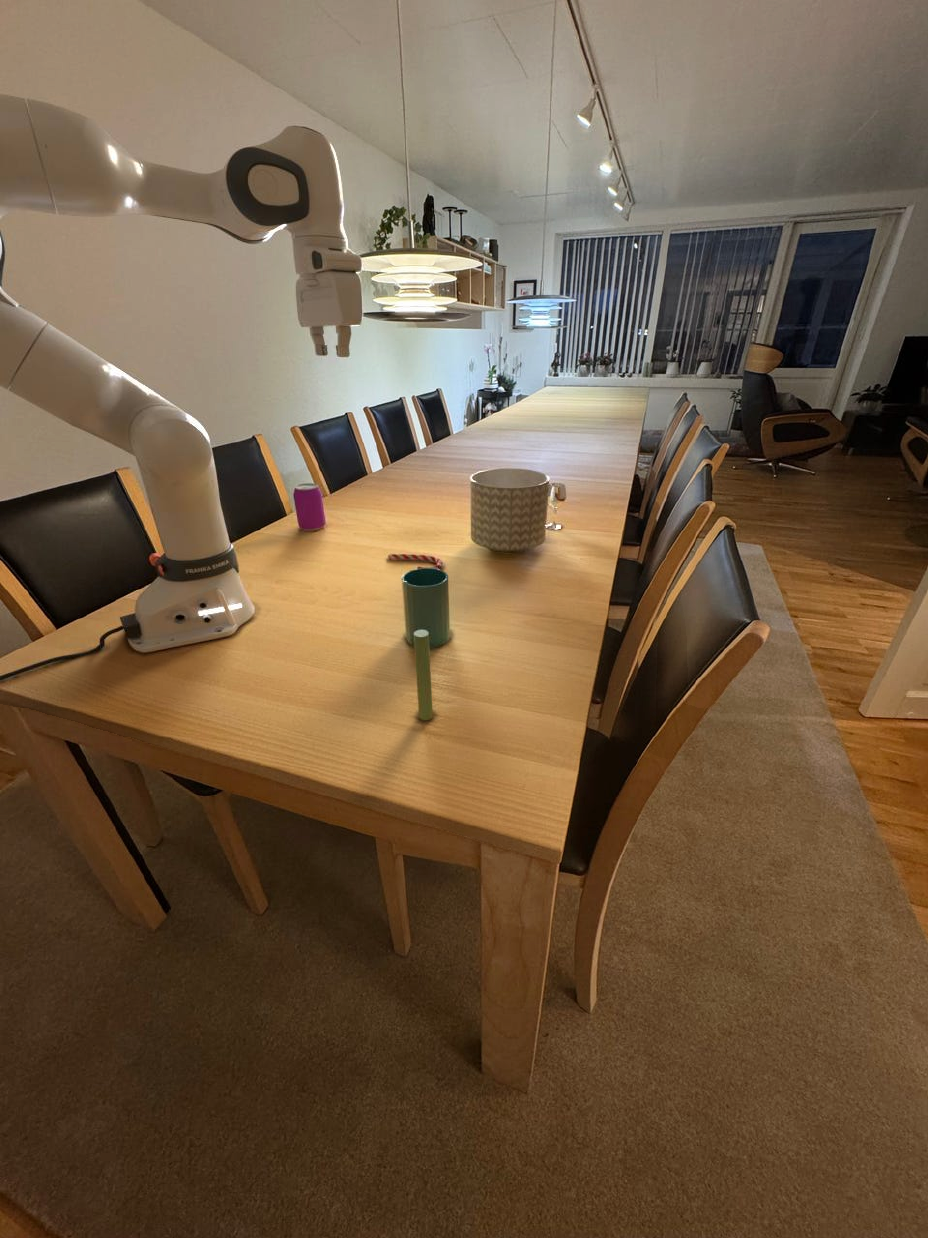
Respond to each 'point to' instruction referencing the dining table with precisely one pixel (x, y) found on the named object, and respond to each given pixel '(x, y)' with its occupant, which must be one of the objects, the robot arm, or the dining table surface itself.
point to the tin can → (426, 604)
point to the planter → (509, 509)
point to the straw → (423, 674)
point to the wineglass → (556, 500)
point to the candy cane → (418, 557)
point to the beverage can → (309, 507)
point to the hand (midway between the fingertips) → (332, 356)
